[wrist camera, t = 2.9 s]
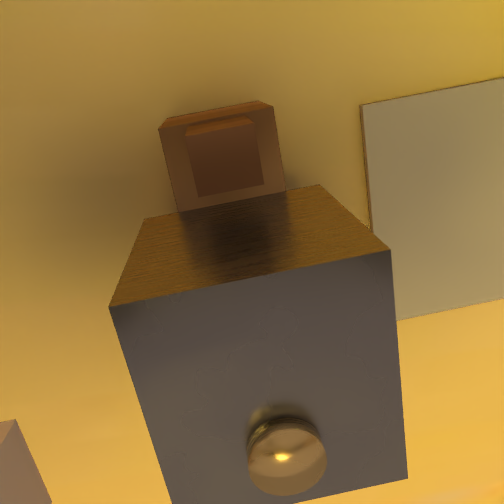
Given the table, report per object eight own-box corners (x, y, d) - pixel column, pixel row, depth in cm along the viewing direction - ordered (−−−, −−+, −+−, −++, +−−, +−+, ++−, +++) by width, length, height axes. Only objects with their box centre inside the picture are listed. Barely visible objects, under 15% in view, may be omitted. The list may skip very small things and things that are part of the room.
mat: (359, 105, 21) (362, 105, 20) (537, 70, 21) (543, 70, 21) (379, 320, 25) (381, 324, 24) (528, 289, 25) (533, 292, 25)
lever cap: (144, 219, 17) (102, 319, 10) (319, 184, 17) (401, 258, 10) (187, 377, 20) (179, 548, 12) (339, 345, 20) (417, 495, 13)
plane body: (167, 118, 20) (148, 139, 13) (258, 100, 20) (288, 112, 13) (226, 368, 25) (235, 482, 18) (299, 353, 25) (338, 460, 18)
